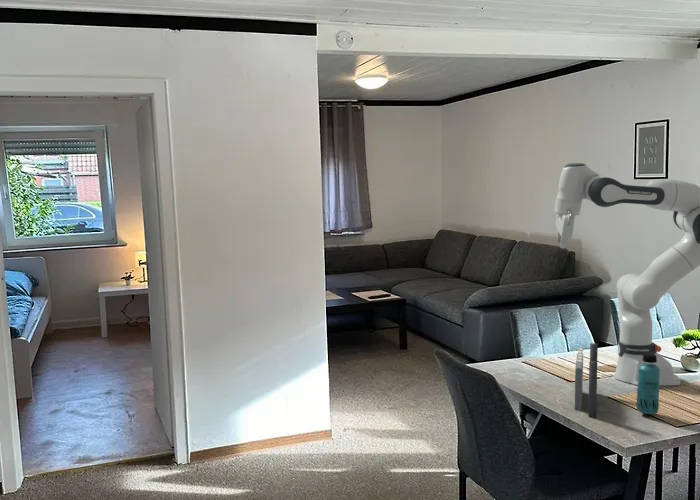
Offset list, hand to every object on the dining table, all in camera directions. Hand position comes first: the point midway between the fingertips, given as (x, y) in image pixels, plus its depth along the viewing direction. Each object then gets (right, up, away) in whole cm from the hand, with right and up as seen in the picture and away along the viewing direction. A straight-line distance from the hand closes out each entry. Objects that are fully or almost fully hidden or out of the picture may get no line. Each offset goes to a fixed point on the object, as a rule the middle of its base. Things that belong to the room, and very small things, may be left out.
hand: (560, 245), depth 228 cm
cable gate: (+5, -54, -17) cm, 57 cm away
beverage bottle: (+19, -55, -27) cm, 64 cm away
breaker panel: (+2, -54, -13) cm, 55 cm away
